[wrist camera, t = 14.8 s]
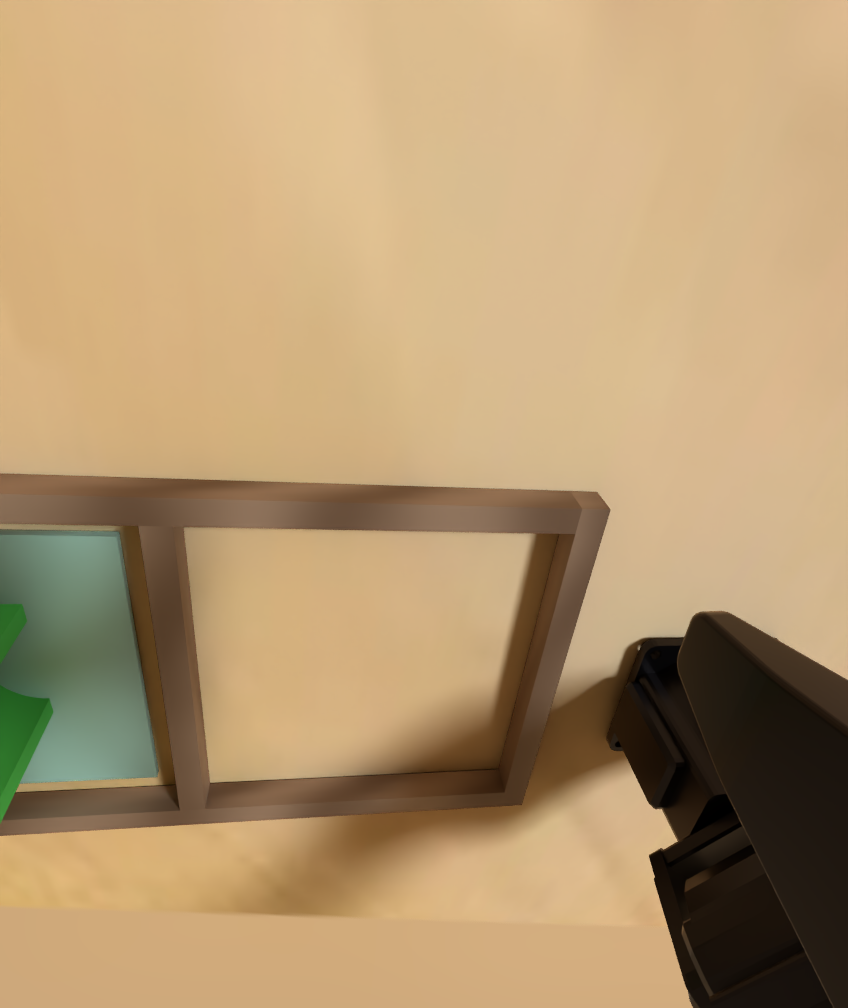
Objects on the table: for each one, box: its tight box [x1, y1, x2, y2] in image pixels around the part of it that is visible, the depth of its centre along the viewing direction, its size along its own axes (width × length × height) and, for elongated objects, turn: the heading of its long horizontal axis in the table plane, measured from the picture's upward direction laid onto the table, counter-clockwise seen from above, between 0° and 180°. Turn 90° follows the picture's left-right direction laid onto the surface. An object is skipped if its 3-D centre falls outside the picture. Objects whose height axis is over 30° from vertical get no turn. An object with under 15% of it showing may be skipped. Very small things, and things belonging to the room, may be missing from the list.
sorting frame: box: [0, 474, 610, 836], centre depth 23 cm, size 29×16×1 cm, turn 84°
